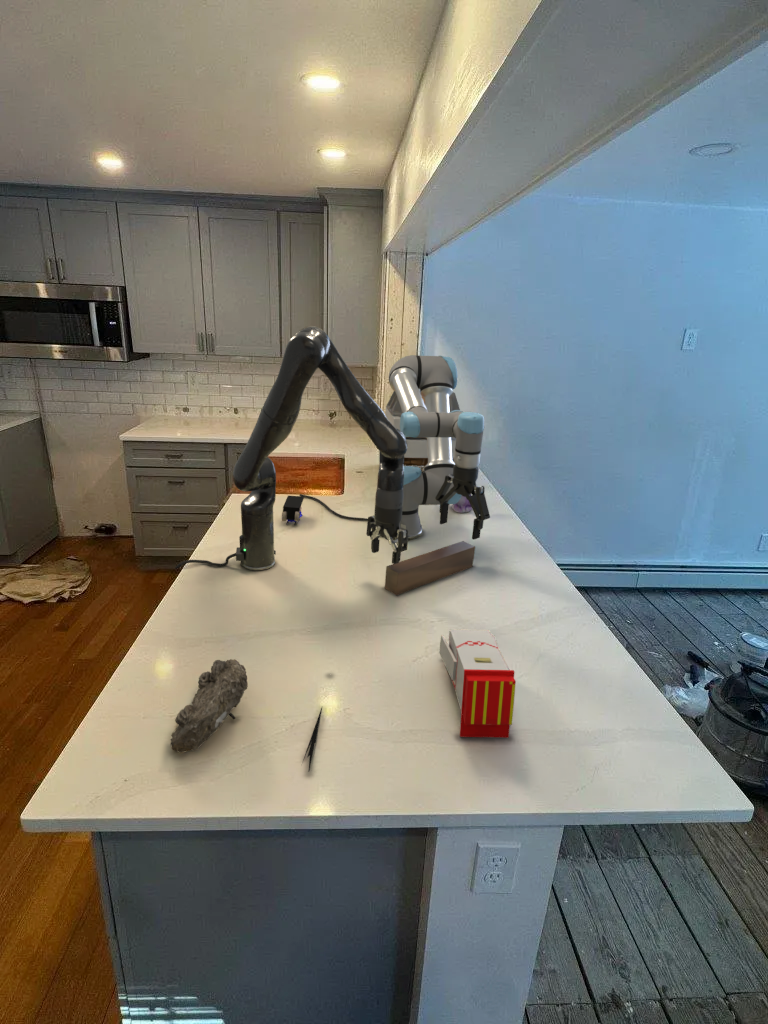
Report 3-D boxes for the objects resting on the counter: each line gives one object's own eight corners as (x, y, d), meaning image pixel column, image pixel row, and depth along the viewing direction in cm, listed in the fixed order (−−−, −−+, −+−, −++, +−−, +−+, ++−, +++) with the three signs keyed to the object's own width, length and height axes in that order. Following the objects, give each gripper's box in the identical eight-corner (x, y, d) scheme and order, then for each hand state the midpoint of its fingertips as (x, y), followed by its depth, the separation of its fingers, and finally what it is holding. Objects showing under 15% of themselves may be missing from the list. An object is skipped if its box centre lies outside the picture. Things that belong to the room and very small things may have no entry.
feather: (331, 679, 122) (336, 673, 122) (307, 777, 96) (313, 769, 95) (324, 675, 122) (329, 669, 121) (298, 772, 95) (304, 764, 95)
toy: (489, 613, 130) (525, 677, 101) (485, 667, 133) (518, 744, 104) (437, 612, 130) (457, 676, 101) (434, 666, 133) (453, 743, 103)
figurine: (459, 514, 221) (463, 477, 216) (445, 506, 229) (448, 470, 224) (479, 511, 225) (483, 475, 220) (464, 503, 234) (467, 468, 228)
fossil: (195, 660, 117) (247, 628, 112) (227, 691, 120) (279, 661, 115) (146, 746, 98) (206, 711, 93) (185, 779, 101) (245, 748, 96)
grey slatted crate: (381, 463, 289) (385, 382, 275) (444, 464, 292) (450, 384, 279) (389, 482, 257) (393, 392, 243) (459, 483, 261) (467, 394, 247)
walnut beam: (384, 588, 160) (386, 566, 158) (460, 560, 180) (463, 540, 178) (396, 595, 157) (398, 573, 155) (472, 566, 177) (475, 546, 174)
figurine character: (300, 531, 202) (304, 512, 215) (299, 512, 198) (304, 494, 212) (281, 530, 201) (287, 511, 215) (280, 511, 198) (286, 493, 211)
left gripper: (361, 498, 155) (358, 551, 161) (396, 514, 145) (392, 570, 151) (381, 493, 160) (378, 545, 166) (417, 508, 150) (412, 563, 156)
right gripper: (427, 456, 175) (422, 519, 183) (490, 479, 157) (482, 548, 165) (444, 453, 179) (438, 514, 187) (507, 474, 162) (498, 541, 170)
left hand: (385, 557), depth 158 cm, fingers open, 8 cm apart
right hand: (459, 530), depth 176 cm, fingers open, 13 cm apart
